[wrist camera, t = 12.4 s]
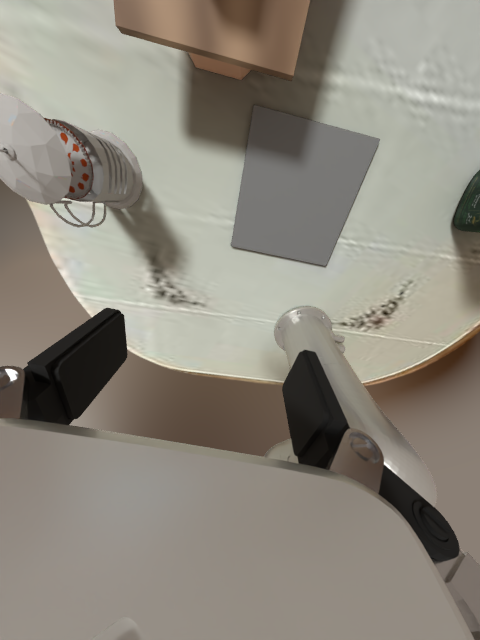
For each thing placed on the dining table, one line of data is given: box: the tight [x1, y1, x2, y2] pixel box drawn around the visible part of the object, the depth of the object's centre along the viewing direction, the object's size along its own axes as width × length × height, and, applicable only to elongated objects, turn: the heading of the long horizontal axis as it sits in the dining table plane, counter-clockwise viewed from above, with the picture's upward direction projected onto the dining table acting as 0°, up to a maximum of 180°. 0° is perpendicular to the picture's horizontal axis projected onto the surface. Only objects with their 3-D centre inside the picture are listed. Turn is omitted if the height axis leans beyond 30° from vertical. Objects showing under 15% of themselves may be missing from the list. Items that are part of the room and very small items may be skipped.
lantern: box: [0, 93, 142, 227], centre depth 20 cm, size 10×12×25 cm
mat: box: [231, 105, 380, 266], centre depth 31 cm, size 18×18×1 cm
